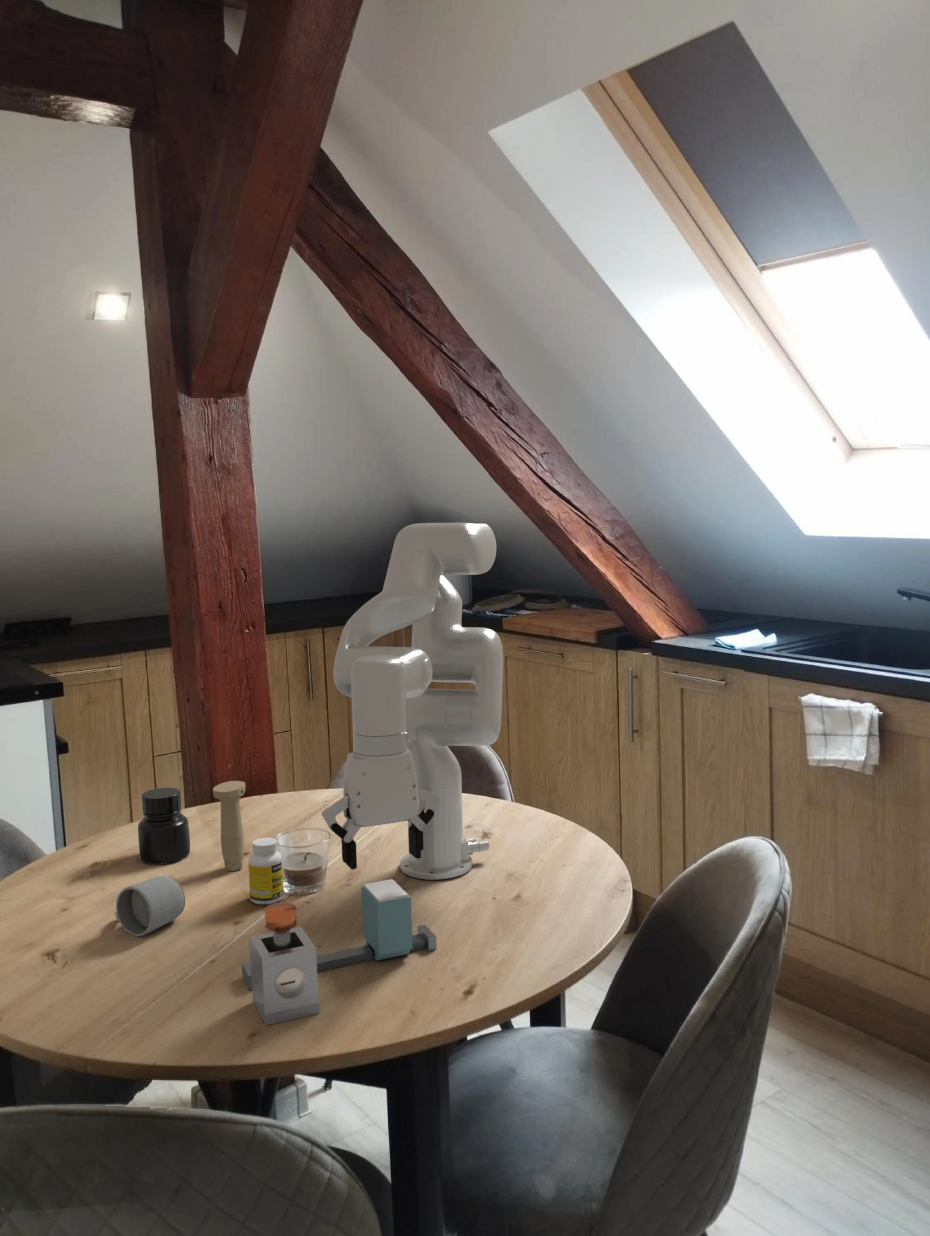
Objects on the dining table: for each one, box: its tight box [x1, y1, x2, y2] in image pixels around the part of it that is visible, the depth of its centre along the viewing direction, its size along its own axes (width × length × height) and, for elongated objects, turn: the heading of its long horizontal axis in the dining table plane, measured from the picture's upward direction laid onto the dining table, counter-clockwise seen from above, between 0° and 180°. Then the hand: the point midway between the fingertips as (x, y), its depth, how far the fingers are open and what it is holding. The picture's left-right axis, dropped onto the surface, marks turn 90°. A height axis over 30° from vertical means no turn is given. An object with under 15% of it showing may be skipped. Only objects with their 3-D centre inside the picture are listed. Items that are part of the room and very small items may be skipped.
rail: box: [241, 924, 437, 991], centre depth 154 cm, size 27×4×2 cm, turn 114°
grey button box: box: [248, 926, 320, 1027], centre depth 141 cm, size 7×7×9 cm
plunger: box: [264, 901, 298, 952], centre depth 140 cm, size 4×4×8 cm
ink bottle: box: [137, 787, 191, 865], centre depth 197 cm, size 10×9×12 cm
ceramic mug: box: [114, 875, 186, 937], centre depth 168 cm, size 11×8×8 cm
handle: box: [212, 780, 246, 872], centre depth 190 cm, size 5×6×15 cm
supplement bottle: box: [247, 837, 284, 905], centre depth 177 cm, size 5×5×10 cm
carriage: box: [360, 878, 413, 961], centre depth 156 cm, size 5×7×9 cm
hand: (383, 861), depth 154 cm, fingers open, 9 cm apart
